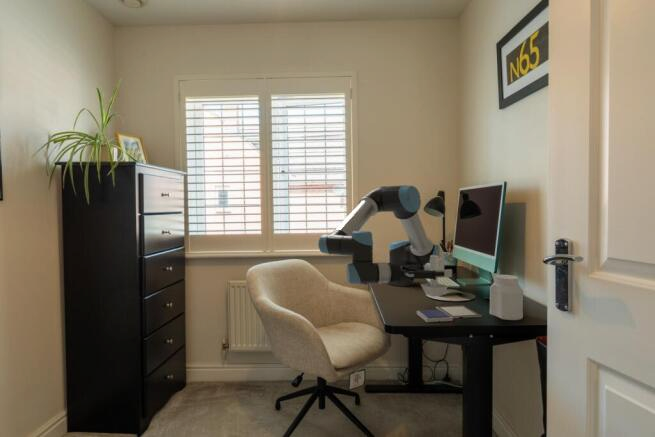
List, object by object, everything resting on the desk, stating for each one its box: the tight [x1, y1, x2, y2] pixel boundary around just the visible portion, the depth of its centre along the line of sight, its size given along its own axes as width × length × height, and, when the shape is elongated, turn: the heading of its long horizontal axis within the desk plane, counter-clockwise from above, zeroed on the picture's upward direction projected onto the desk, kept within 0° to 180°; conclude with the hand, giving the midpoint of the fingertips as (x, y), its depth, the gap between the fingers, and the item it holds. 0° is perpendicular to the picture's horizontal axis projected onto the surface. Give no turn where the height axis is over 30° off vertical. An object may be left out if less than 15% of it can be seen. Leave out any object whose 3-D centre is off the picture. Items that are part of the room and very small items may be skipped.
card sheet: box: [435, 304, 483, 319], centre depth 143 cm, size 14×12×1 cm
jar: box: [489, 274, 524, 321], centre depth 137 cm, size 12×10×15 cm
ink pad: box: [416, 309, 454, 323], centre depth 136 cm, size 10×10×2 cm
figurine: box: [420, 255, 449, 297], centre depth 135 cm, size 7×9×15 cm
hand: (445, 270), depth 136 cm, fingers closed on figurine, 9 cm apart
